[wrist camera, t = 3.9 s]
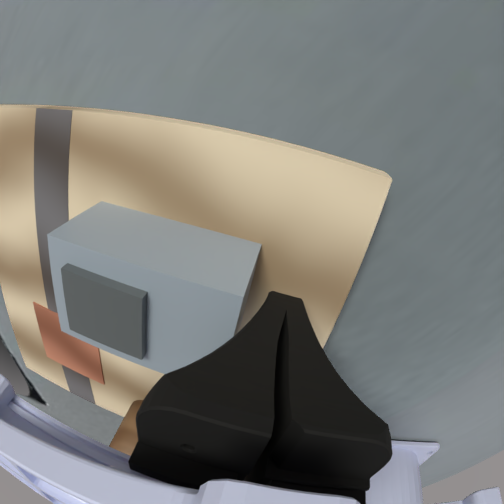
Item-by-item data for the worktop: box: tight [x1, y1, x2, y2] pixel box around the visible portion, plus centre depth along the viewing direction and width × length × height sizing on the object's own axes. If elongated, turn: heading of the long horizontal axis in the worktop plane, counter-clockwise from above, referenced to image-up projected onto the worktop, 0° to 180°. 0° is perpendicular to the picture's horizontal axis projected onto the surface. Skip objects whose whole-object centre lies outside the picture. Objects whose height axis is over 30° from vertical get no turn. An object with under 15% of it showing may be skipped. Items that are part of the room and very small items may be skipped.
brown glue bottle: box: [109, 400, 143, 456], centre depth 16 cm, size 3×3×7 cm
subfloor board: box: [0, 105, 392, 417], centre depth 16 cm, size 20×20×1 cm
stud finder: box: [47, 201, 262, 374], centre depth 12 cm, size 4×7×4 cm, turn 78°
